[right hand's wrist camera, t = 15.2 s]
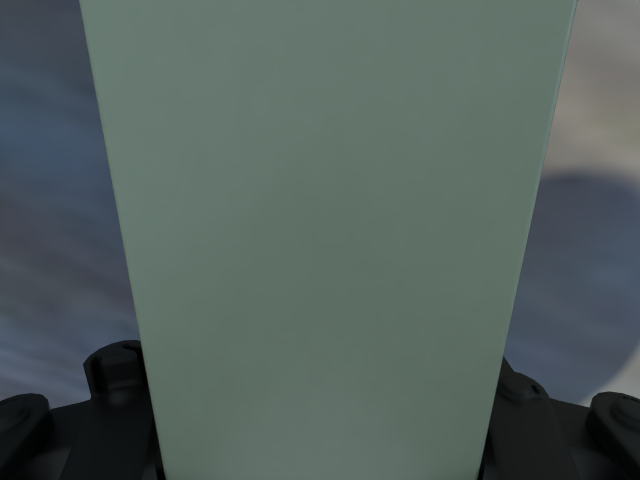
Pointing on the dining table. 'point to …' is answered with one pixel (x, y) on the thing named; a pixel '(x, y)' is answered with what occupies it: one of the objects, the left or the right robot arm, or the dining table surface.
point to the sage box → (325, 221)
